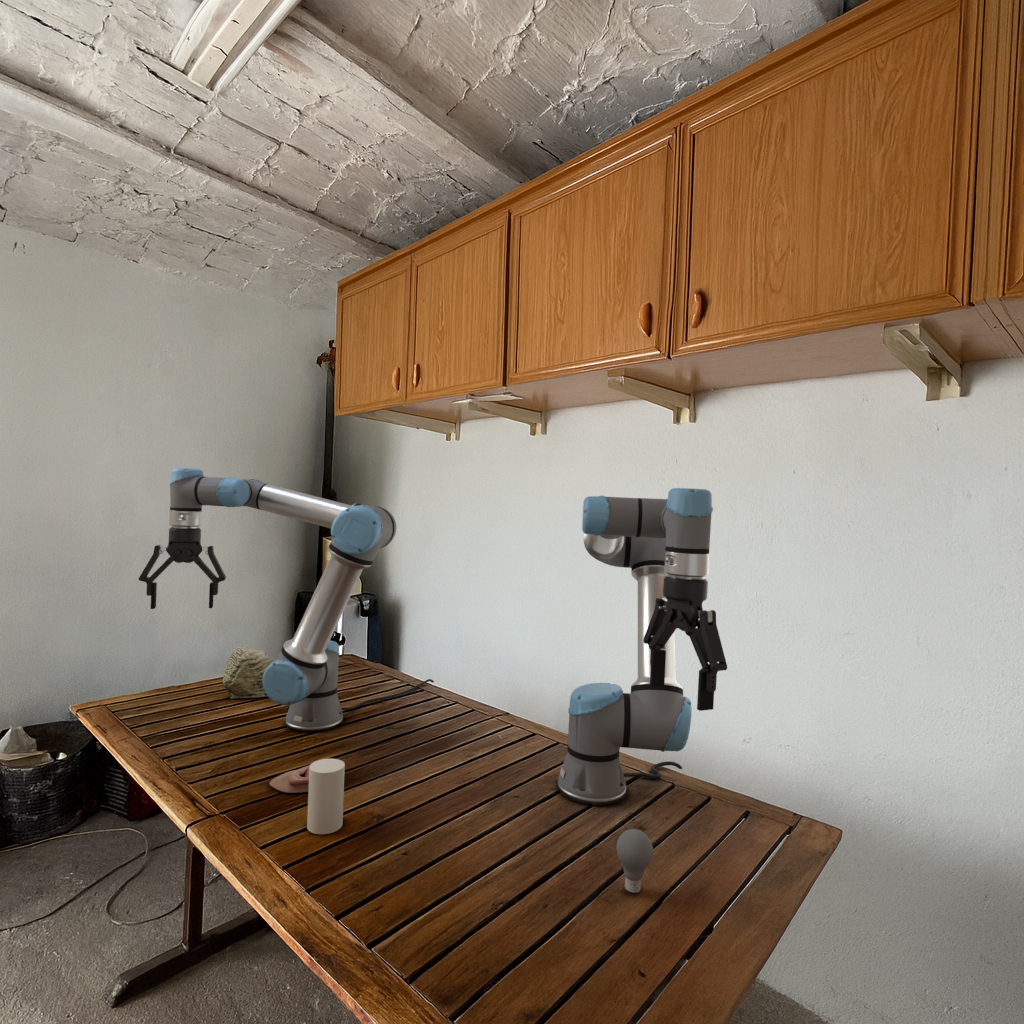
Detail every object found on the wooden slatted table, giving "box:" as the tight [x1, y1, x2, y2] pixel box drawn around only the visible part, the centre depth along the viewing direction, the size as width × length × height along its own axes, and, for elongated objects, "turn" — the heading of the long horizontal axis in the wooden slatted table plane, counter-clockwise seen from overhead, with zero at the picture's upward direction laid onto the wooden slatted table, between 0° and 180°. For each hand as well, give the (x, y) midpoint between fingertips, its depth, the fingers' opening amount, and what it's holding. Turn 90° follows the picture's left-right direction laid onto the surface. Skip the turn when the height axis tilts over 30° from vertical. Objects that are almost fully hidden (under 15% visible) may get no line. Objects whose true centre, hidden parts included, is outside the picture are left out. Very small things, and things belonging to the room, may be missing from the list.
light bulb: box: [615, 828, 654, 894], centre depth 106 cm, size 6×6×10 cm
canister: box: [306, 758, 346, 835], centre depth 122 cm, size 7×7×12 cm
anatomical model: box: [269, 764, 311, 794], centre depth 140 cm, size 13×4×12 cm
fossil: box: [222, 646, 275, 699], centre depth 198 cm, size 9×18×15 cm, turn 132°
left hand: (182, 607), depth 166 cm, fingers open, 13 cm apart
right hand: (679, 696), depth 111 cm, fingers open, 13 cm apart
